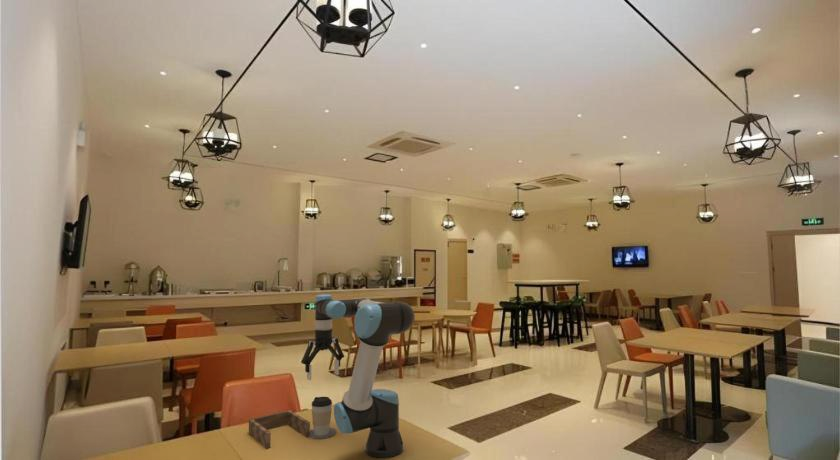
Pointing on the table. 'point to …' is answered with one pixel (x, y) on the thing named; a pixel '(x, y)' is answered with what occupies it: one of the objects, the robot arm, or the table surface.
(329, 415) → the coffee cup
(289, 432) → the table surface
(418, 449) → the table surface
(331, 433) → the coaster
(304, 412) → the table surface
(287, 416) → the brown rectangular open frame
